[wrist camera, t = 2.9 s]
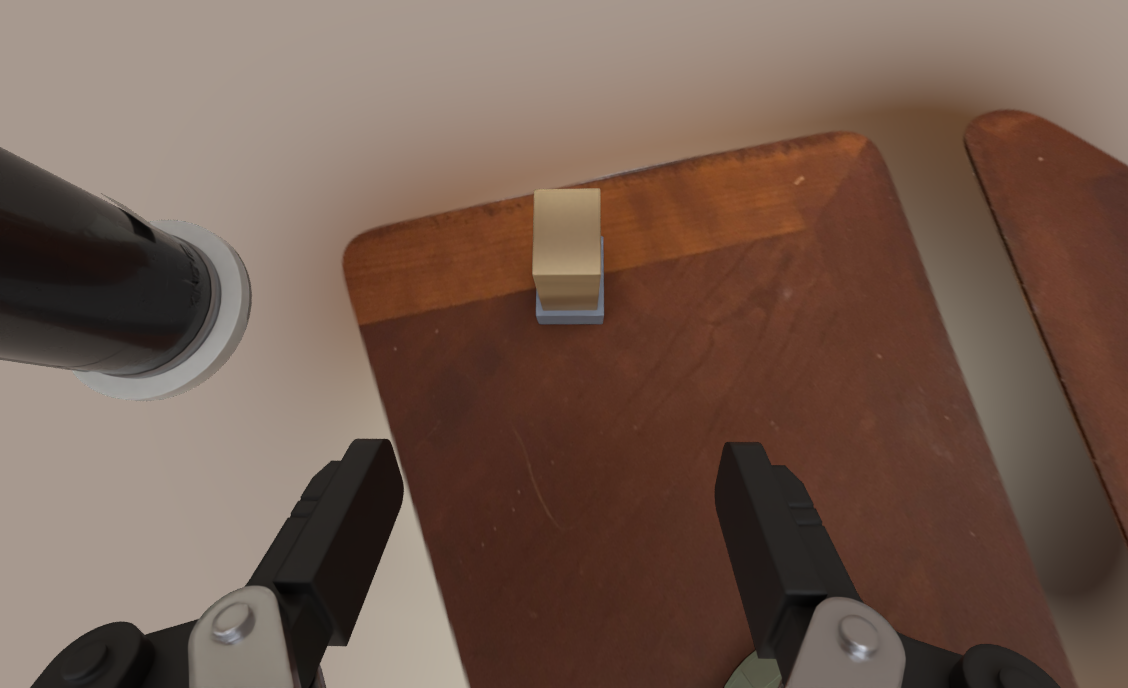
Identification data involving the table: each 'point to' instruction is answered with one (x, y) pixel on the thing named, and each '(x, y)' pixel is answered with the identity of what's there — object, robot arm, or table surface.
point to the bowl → (755, 674)
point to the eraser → (568, 256)
